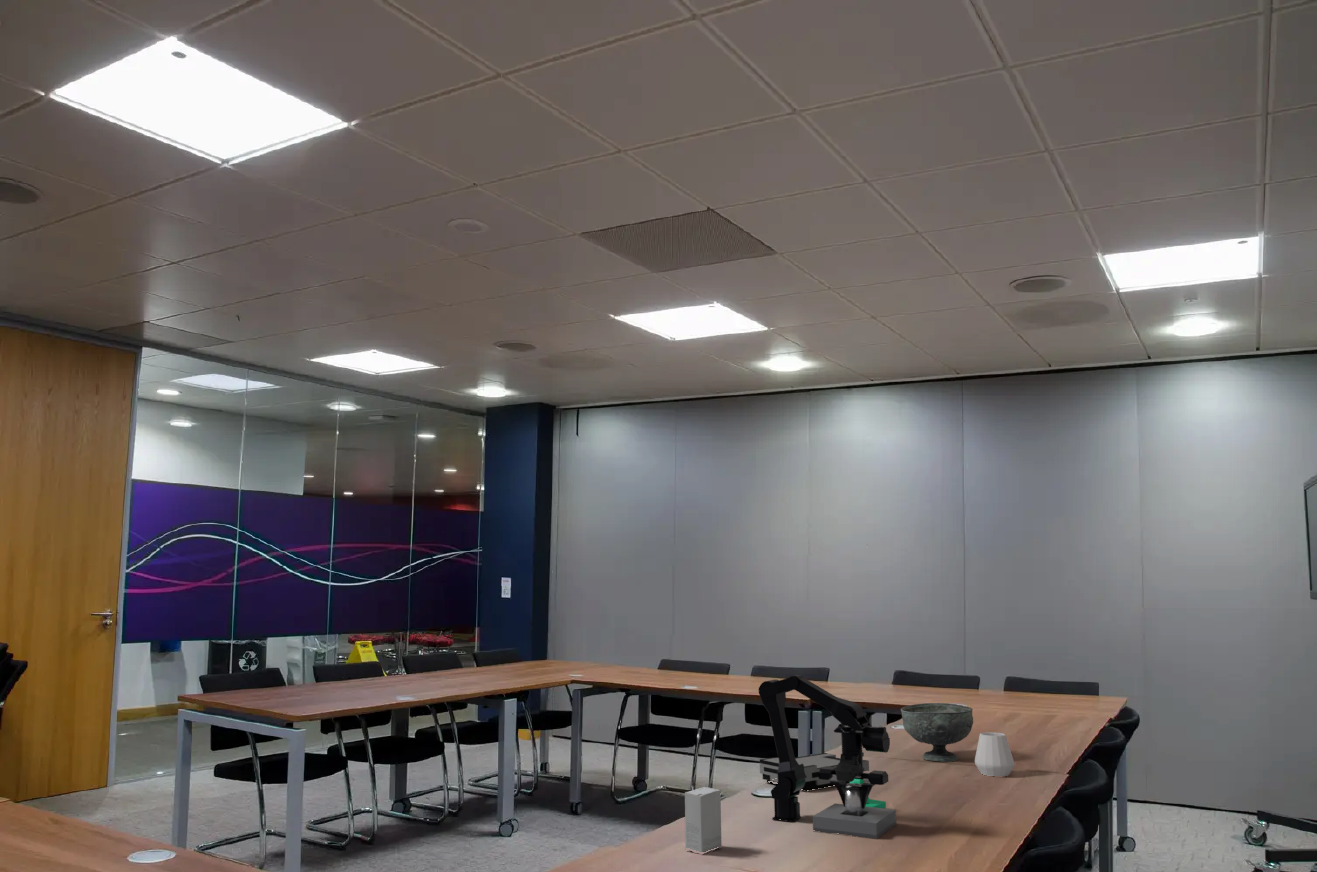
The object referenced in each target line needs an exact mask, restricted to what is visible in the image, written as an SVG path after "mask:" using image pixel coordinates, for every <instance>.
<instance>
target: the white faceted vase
mask: <svg viewBox="0 0 1317 872" xmlns="http://www.w3.org/2000/svg"><path fill="white" fill-rule="evenodd" d="M974 764H975V766H976V768H977V770H978V771H979V772H980V774H981V775H982V774H983V775H982V776H984V775H987V776H986V777H988V776H1007V777H1009V776H1010V775H1009V774H1011V773H1012V771H1013V770H1014V767H1015V760H1014V757H1013V755H1012V751H1011V747H1010V745H1009V741H1008V738H1007V735H1006V734H1005V733H1001V732H994V731H993V732H992V731H991V732H986V731H985V732H980V733H979V737H978V740H977V747H976V751H975V757H974ZM1008 775H1009V776H1008Z"/></svg>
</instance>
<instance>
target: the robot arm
mask: <svg viewBox="0 0 1317 872" xmlns="http://www.w3.org/2000/svg"><path fill="white" fill-rule="evenodd" d="M792 691H796V692H798V693H799V694H800V695H802V696H804V697H806V698H807V699H810V700H811V701H812V702H814V703H816V704H818V705H820V707H823V708H824V709H826V710H827V711H828V712H830V714H831V715H832V717H833V718H834V719H835V720H837V721H838V722H839V724H838V726H837V727H836V728H835V729H834V730H833V732H834V733H836V734H837V733H839V734H840V735H841V754H840V757H839V758H840V762H839V763H838V765H837V767H830V766H825V767H823V768H821V769H820V770H819V773H818V775H819V779H823V780H829V779H830V778H831V781H830V783H833V784H834V785H835V788H836V790H837V792H838V793H839V797H840V799H841V802H842V803H841V804H843V805H844V807H845V789H844V788H843V785H844V784H846V781H848V782H852V781H853V780H854V779H861V780H864V783H863V784H861V787H862V809H864V808H865V805H866V802H867V799H868V797H869V796H870V793H871V791H872V789H873V787H874V786H877V785H878V786H883V785H885V784H887V783H889V774H888V773H887V771H885V770H875V769H874V770H872V771H870V772H865V771H864V767H863V760H864V758H863V757H864V756H865V754H864V752H863V749H864V750H865V751H867V752H875V753H885V754H887V753H888V752H889V750H890V745H891V744H890V743H891V740H890V739H891V738H890V736H889V733H888V731H887V727H886V726H873V725H872V724H871V723H870V721H869V720H868V719H867V717H866V715H865V714H864V710H863V707H862V705H860V704H858V703H857V702H854V701H852V700H848V699H846V698H845V699H844V698H840V697H838V696H836V695H834V694H832V693H830V692H829V691H827V690H826V689H824V688H822V687H820V686H819V685H817V684H815V683H813V682H812V681H810V680H808V679H807V678H805V677H804V676H803V675H802V674H795V675H794V674H793V675H791V676H789V677H787V678H783V679H780V680H779V679H770V680H765V681H763V682H761V683H760V685H759V687H758V695H759V698H760V701H761V704H762V705H763V706H764V708H765V709H766V711H767V712H768V714H769V715H768V716H769V721H770V724H771V729H772V735H773V739H774V743H775V749H776V754H777V758H779V767H778V773H777V774H778V784H777V785H775V786H774V787H773V788H772V789H771V790H770V795H771V797H772V799H773V800H774V801H773V803H774V804H773V805H774V807H773V808H774V810H773V811H774V816H773V817H772V818H771V819H772V820H773V819H781V820H787V821H786V822H789V821H794V820H795V819H797V820H799V819H801V818H802V816H801V806H800V802H799V797H798V796H799V795H800V793H801V791H800V790H801V789H802V788H803V787H804V785H805V778H807V776H806V775H805V772H804V765H803V764H800V765H799V764H798V762H797V761H796V759H795V758H796V757H795V754H794V748H793V744H792V738H791V735H790V729H789V725H788V720H787V717H786V711H785V709H786V708H785V707H786V701H787V695H786V694H787V693H788V692H792ZM800 817H801V818H800ZM798 818H799V819H798ZM795 821H796V820H795ZM795 821H794V822H795Z"/></svg>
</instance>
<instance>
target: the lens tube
mask: <svg viewBox="0 0 1317 872" xmlns="http://www.w3.org/2000/svg"><path fill="white" fill-rule="evenodd" d="M843 788H844V789H845V815H852V816H861V817H862V816H864V813H863V809H862V787H861V784H857V783H847V784H844V785H843Z"/></svg>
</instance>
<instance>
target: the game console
mask: <svg viewBox="0 0 1317 872" xmlns="http://www.w3.org/2000/svg"><path fill="white" fill-rule="evenodd" d="M795 759H796V761H797V762H798V764H799V765H800V764H803V765H804V772H805V775H806V776H807V778H805V785H804V787H803V788H802V789H803V790H806V791H807V790H812V789H818V788H824V787H828V786H833V785H834V784H833V783H830V781H831V778H830V779H829V780H823V779H819V775H818V773H819V770H820V769H821V768H823V767H825V766H830V767H837V765H838V763H839V762H840V757H837V755H836V754H832V753H828V752H824V753H817V754H811V755H810V754H809V755H803V756H796V757H795ZM778 767H779V758H778V757H767V758H760V759H759V773H760V774H761V775H762V780H766V783H767V782H768V781H773V782H777V783H778V774H777V773H778ZM863 767H864V772H868V771H870V760H866V759H863ZM775 778H777V779H775ZM772 779H774V780H772ZM770 783H772V782H770ZM770 783H769V784H770ZM847 783H850V782H848V781H846V784H847ZM824 789H825V788H824Z"/></svg>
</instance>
